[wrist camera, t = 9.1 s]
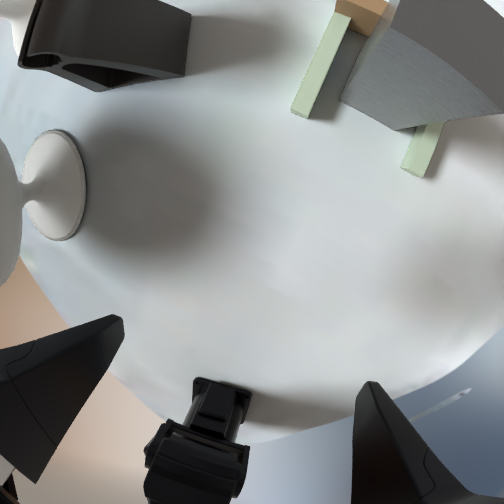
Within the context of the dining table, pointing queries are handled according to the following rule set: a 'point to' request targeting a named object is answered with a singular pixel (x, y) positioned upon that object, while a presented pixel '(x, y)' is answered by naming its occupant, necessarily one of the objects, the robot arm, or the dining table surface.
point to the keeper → (345, 16)
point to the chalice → (40, 194)
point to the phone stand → (106, 41)
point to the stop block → (430, 64)
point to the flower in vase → (17, 18)
